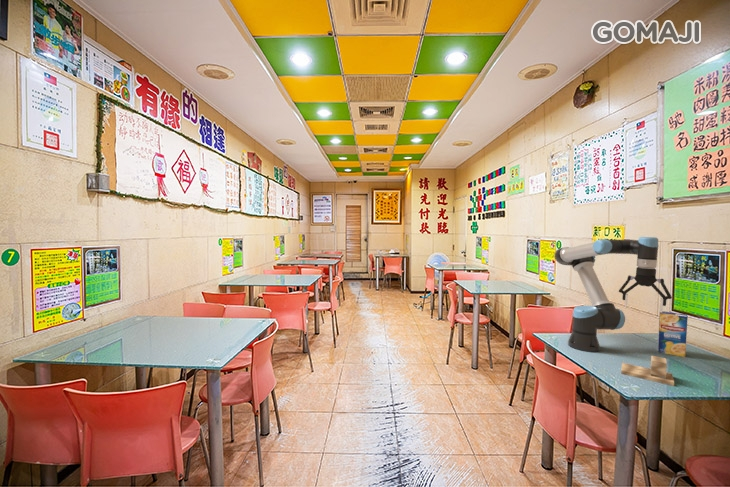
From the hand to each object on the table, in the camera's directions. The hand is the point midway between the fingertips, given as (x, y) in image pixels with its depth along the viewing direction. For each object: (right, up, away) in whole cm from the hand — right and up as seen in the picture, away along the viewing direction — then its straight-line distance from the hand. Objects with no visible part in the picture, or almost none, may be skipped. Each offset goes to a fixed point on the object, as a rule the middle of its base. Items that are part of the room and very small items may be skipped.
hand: (642, 309), depth 164 cm
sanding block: (-7, -27, -16) cm, 32 cm away
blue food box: (+29, -28, +16) cm, 44 cm away
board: (-10, -28, -13) cm, 32 cm away
